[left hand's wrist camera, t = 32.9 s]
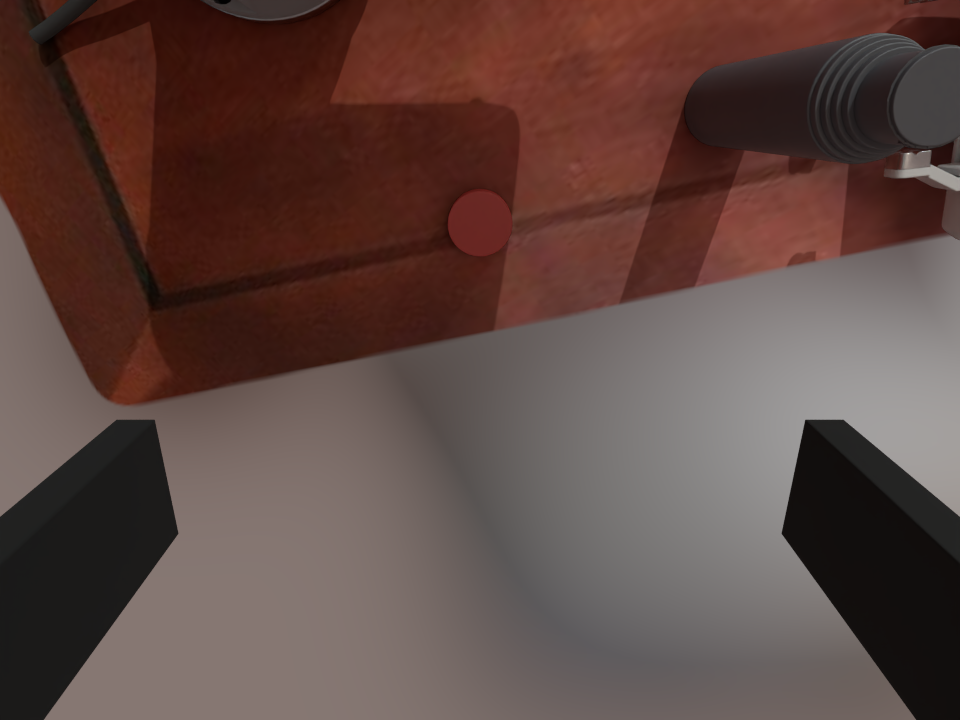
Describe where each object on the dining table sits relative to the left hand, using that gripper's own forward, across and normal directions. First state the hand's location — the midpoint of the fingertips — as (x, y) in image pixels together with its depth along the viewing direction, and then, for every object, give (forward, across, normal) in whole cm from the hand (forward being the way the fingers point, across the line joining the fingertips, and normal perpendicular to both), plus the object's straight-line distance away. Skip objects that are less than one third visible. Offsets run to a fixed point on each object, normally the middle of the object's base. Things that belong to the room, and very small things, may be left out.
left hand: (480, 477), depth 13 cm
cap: (+34, 0, 0) cm, 34 cm away
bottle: (+35, +16, +8) cm, 39 cm away
